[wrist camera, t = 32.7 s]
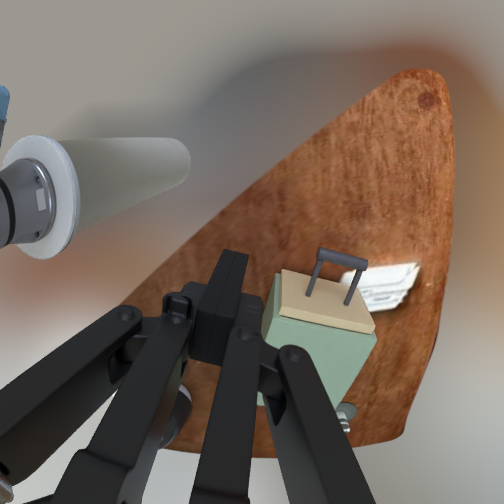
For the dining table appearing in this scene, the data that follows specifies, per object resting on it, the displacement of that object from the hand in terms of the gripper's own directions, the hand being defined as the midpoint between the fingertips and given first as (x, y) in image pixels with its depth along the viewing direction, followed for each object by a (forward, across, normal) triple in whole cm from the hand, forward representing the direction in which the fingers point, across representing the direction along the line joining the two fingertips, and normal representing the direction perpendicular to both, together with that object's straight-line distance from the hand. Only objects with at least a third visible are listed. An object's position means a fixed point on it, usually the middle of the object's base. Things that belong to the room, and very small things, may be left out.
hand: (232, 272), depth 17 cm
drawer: (+21, +11, -12) cm, 27 cm away
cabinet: (+22, +11, -17) cm, 30 cm away
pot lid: (+22, +26, -37) cm, 50 cm away
